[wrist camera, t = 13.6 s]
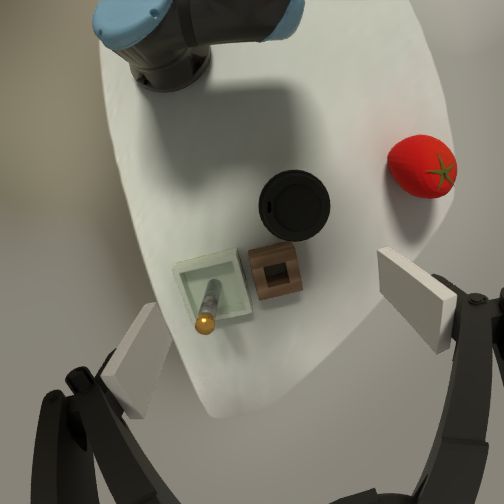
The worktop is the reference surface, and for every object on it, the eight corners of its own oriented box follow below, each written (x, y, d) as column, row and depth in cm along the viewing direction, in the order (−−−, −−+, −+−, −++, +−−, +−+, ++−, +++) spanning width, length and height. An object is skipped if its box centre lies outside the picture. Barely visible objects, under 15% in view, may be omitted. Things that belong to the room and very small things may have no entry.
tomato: (371, 181, 50) (410, 189, 36) (385, 127, 46) (426, 120, 33) (420, 201, 51) (462, 215, 37) (433, 152, 48) (477, 153, 34)
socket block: (248, 250, 53) (248, 259, 48) (290, 240, 53) (294, 248, 48) (258, 288, 56) (259, 300, 51) (298, 279, 55) (302, 289, 50)
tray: (176, 262, 54) (172, 269, 50) (236, 248, 53) (236, 254, 50) (195, 315, 57) (192, 325, 54) (252, 304, 57) (252, 312, 53)
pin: (205, 280, 54) (192, 320, 40) (219, 277, 54) (210, 317, 40) (209, 293, 55) (198, 336, 41) (223, 290, 55) (216, 332, 41)
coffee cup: (308, 223, 52) (331, 245, 38) (254, 222, 52) (258, 244, 37) (310, 169, 49) (336, 172, 35) (255, 167, 49) (259, 168, 34)
